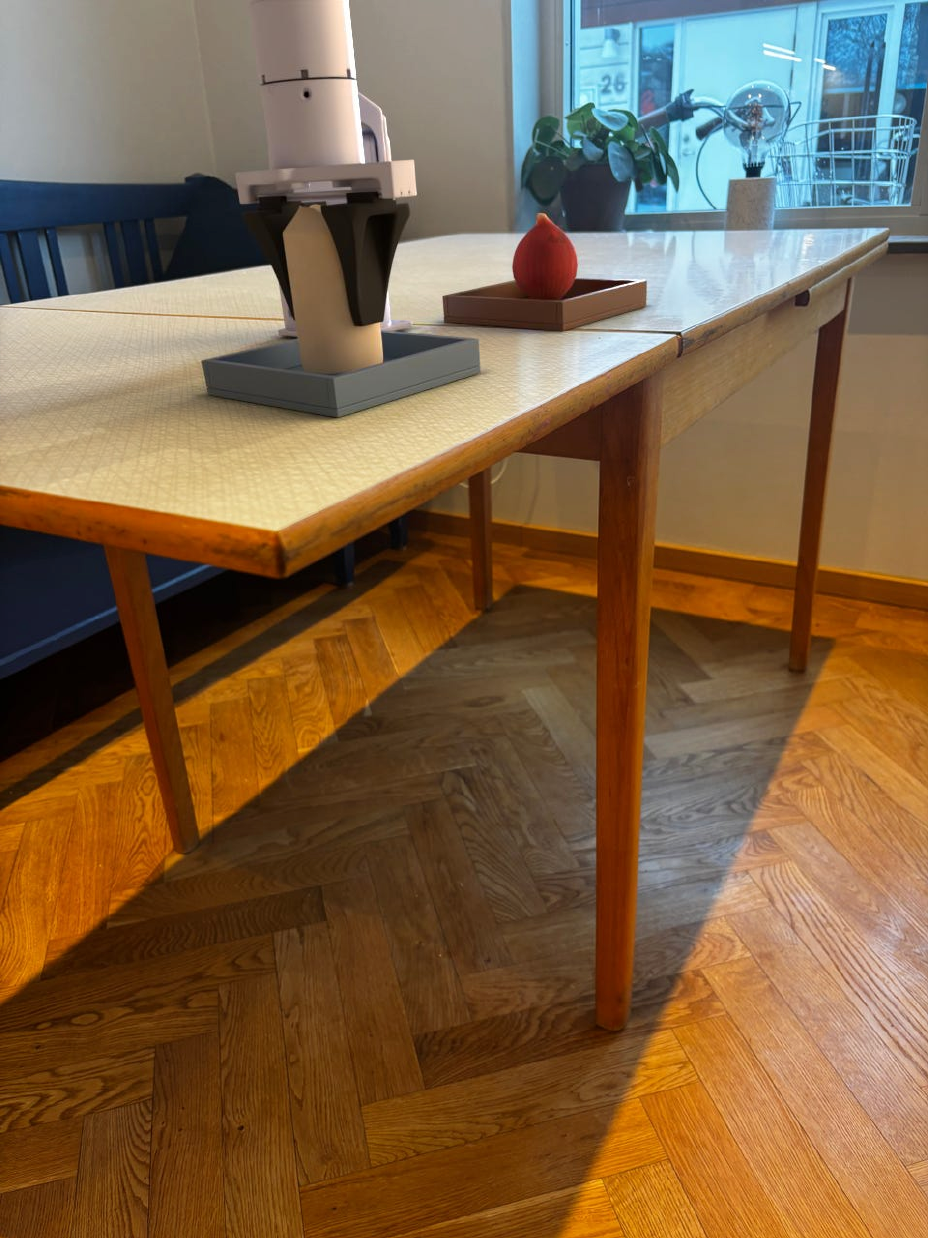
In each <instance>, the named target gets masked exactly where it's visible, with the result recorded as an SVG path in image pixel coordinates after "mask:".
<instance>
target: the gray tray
mask: <svg viewBox="0 0 928 1238" xmlns="http://www.w3.org/2000/svg"><path fill="white" fill-rule="evenodd" d="M381 340H382V351H383V362H382V363H380V364H376V365H372V366H369V367H365V368H361V369H358V370H354V371H350V372H347V373H333V374H323V373H311V372H307V371H305V370H303V367H302V363H301V357H300V351H299V344H298V337H296V338H294V339H289V340H285V341H281V342H276V343H271V344H267V345H263V346H259V347H254V348H249V349H246V350H241V351H236V352H231V353H227V354H223V355H219V356H215V357H210V358H206V359H202V360H201V366H202V367H201V368H202V372H203V377H204V383H205V387H206V393H207V396H213V397H220V398H225V399H231V400H236V401H242V402H247V403H252V404H257V405H258V404H259V405H265V406H270V407H276V408H281V409H287V410H291V411H299V412H303V413H310V414H315V415H320V416H327V417H332V418H342V417H345V416H348V415H351V414H354V413H357V412H360V411H364V410H367V409H370V408H373V407H376V406H380V405H383V404H386V403H389V402H392V401H396V400H399V399H402V398H405V397H408V396H412V395H414V394H417V393H421V392H424V391H428V390H431V389H434V388H437V387H441V386H443V385H446V384H449V383H453V382H455V381H459V380H463V379H465V378H469V377H472V376H475V375H478V374H481V373H482V372H481V357H480V356H481V355H480V340H479V338H475V337H464V336H463V337H462V336H453V335H442V334H441V335H439V334H428V333H417V332H406V331H397V330H396V331H384V330H381Z"/></svg>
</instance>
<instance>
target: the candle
mask: <svg viewBox="0 0 928 1238" xmlns="http://www.w3.org/2000/svg"><path fill="white" fill-rule="evenodd" d="M320 207H321V206H320V205H312V206H310V207H301V206H299V208H298V210H297V212H296V214H295V215H294V217H293V218H292V220H291V221H290V223H289V224H288V226H287V227H286V229H285V230H284V232H283V238H284V245H285V252H286V260H287V267H288V274H289V281H290V288H291V295H292V302H293V309H294V316H295V323H296V330H297V337H296V338H298V344H299V351H300V357H301V363H302V367H303V370H305V371H307V372H311V373H323V374H333V373H347V372H350V371H354V370H358V369H361V368H365V367H369V366H372V365H376V364H380V363H382V362H383V351H382V340H381V330H380V323H375V324H371V325H367V326H354V323H353V320H352V317H351V313H350V310H349V305H348V299H347V293H346V287H345V281H344V275H343V270H342V266H341V263H340V259H339V255H338V252H337V249H336V246H335V243H334V241H333V238H332V236H331V233H330V231H329V228H328V226H327V224H326V222H325V220H324V218H323V216H322V214H321V208H320Z"/></svg>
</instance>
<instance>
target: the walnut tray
mask: <svg viewBox="0 0 928 1238" xmlns="http://www.w3.org/2000/svg"><path fill="white" fill-rule="evenodd" d="M647 290H648V280H647V279H625V278H622V279H620V278H618V279H617V278H591V277H590V278H589V277H586V278H585V277H576V278H575V280H574V283H573V285H572V287H571V288H570V289H569V290H568V291H567V293H566V294H565V295H563V296H562V297H561V298H560V299H559V300H558V301H556V300H536V299H530V298H529V297H528V296H527V295H526V294H525V293H524V292H523V291H522V290H521V289H520V288H519V287H518V285H517V283H516V281H515V279H513V280H509V281H504V282H500V283H496V284H495V283H494V284H491V285H486V286H482V287H477V288H472V289H468V290H463V291H458V292H454V293H453V292H452V293H449V294H445V295H441V296H442V310H443V311H442V312H443V322H444V323H449V324H462V325H476V326H490V327H503V328H516V329H530V330H543V331H554V332H555V331H556V332H563V331H569V330H571V329H575V328H577V327H581V326H584V325H585V326H586V325H588V324H591V323H595V322H598V321H602V320H605V319H608V318H612V317H616V316H619V315H622V314H627V313H629V312H632V311H636V310H639V309H643V308H646V307H647V298H648V297H647V295H648V292H647Z"/></svg>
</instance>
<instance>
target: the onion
mask: <svg viewBox="0 0 928 1238" xmlns="http://www.w3.org/2000/svg"><path fill="white" fill-rule="evenodd" d="M535 219H536V221H535V225H534V226H533V227H532V228H531V229H530V230H528V231H527V232H526V233H525V234H524V236H523V237H522V238H521V240H520V241H519V243H518V244H517V246H516V249H515V251H514V255H513V258H512V264H511V265H512V266H511V269H512V275H513V280H515V281H516V283H517V285H518V287H519V288H520V289H521V290H522V291H523V292H524V293H525V294H526V295H527V296H528V297H529V298H530V299H536V300H556V301H558V300H559V299H560V298H561V297H562V296H563V295H565V294H566V293H567V291H568V290H569V289H570V288H571V287H572V285H573V283H574V280H575V278H577V276H578V267H579V261H578V254H577V251H576V248H575V246H574V244H573V242H572V240H571V239H570V238H569V236H568V235H567V234H566V233H565V232H564V231H563V230H562V229H561V228H560V227H559V226H557V225H556V224H555V223H554V222H553V221H552V220H551V219H550V218H549V217H548V216H547V214H546V213H542V212H538V213H537V214H536V215H535Z"/></svg>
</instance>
